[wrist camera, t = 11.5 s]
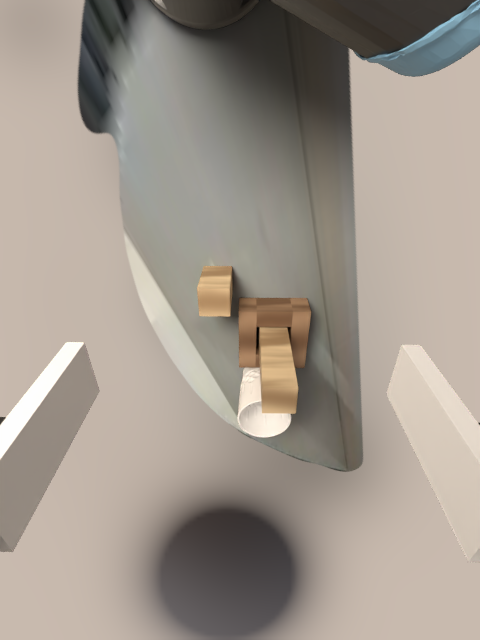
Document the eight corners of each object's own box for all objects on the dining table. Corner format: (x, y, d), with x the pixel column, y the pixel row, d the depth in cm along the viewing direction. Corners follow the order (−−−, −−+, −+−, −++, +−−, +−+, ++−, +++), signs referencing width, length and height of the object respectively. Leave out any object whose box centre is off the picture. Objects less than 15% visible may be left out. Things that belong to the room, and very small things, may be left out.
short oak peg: (203, 266, 47) (197, 288, 41) (232, 266, 47) (229, 288, 41) (205, 291, 49) (199, 316, 43) (232, 291, 49) (230, 316, 43)
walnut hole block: (239, 297, 49) (238, 311, 46) (306, 298, 49) (311, 311, 46) (239, 351, 55) (239, 367, 51) (300, 352, 54) (304, 368, 51)
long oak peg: (259, 315, 51) (262, 388, 37) (285, 315, 51) (298, 388, 37) (258, 336, 53) (261, 413, 39) (283, 336, 53) (295, 413, 39)
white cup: (271, 349, 54) (275, 392, 46) (293, 380, 58) (300, 426, 49) (230, 368, 57) (227, 413, 48) (254, 397, 60) (254, 443, 52)
